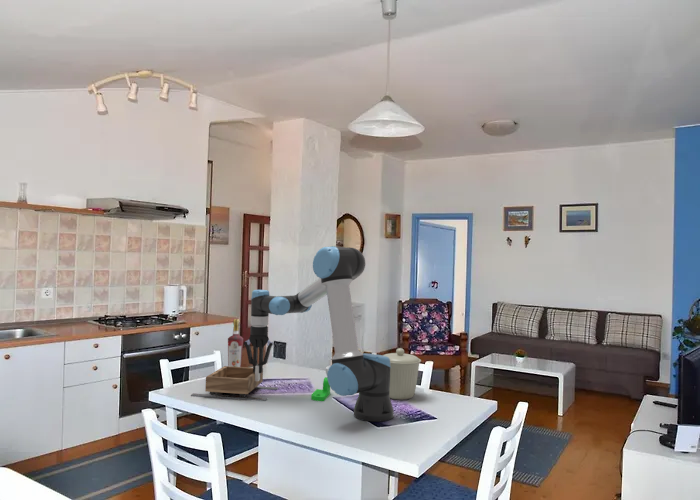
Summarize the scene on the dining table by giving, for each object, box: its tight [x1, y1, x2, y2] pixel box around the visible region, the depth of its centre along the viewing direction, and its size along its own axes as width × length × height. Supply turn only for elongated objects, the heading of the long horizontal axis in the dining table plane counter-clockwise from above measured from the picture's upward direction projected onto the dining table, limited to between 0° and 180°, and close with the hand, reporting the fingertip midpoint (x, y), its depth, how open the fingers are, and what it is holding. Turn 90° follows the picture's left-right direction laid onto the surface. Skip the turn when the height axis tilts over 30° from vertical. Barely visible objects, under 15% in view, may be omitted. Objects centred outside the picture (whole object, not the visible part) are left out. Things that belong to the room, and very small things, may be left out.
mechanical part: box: [310, 376, 331, 402], centre depth 222 cm, size 12×6×8 cm, turn 170°
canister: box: [382, 347, 422, 401], centre depth 226 cm, size 18×18×21 cm
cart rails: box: [190, 385, 279, 402], centre depth 225 cm, size 20×32×1 cm, turn 84°
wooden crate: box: [204, 365, 264, 397], centre depth 225 cm, size 22×18×8 cm
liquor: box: [227, 318, 244, 367], centre depth 252 cm, size 7×7×28 cm
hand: (257, 380), depth 224 cm, fingers closed
